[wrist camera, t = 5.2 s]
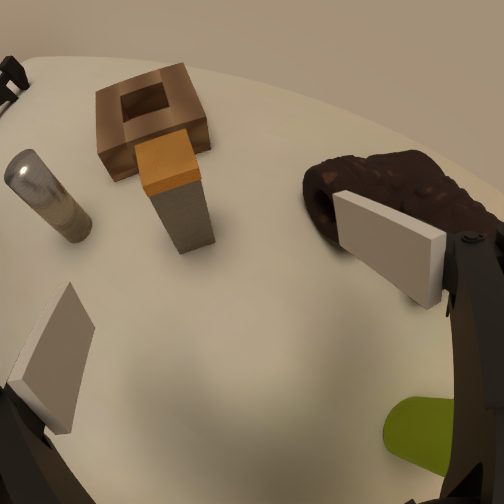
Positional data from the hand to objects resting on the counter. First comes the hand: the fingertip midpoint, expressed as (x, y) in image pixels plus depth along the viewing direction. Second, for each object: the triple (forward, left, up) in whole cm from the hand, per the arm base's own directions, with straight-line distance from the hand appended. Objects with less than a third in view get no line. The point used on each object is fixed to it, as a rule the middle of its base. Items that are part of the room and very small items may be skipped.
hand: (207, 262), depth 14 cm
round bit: (-18, -2, -13) cm, 22 cm away
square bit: (-7, +4, -13) cm, 15 cm away
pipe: (+10, +15, -13) cm, 22 cm away
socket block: (-19, +12, -13) cm, 26 cm away
